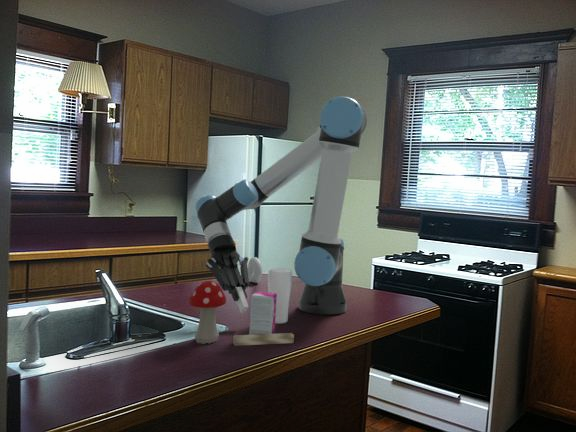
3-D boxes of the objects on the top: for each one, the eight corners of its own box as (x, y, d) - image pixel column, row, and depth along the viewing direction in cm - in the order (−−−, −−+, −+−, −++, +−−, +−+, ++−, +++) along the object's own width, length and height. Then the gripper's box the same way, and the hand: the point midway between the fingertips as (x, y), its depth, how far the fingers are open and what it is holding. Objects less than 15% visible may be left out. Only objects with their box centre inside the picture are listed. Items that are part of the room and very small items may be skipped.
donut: (246, 280, 224) (246, 255, 223) (254, 280, 226) (255, 255, 225) (254, 285, 215) (255, 259, 214) (263, 285, 216) (264, 259, 216)
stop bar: (291, 340, 145) (291, 332, 145) (293, 342, 143) (293, 335, 143) (233, 343, 141) (233, 335, 141) (234, 345, 139) (234, 337, 139)
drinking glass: (276, 317, 168) (278, 267, 167) (294, 321, 164) (296, 270, 163) (261, 321, 162) (263, 269, 161) (280, 326, 158) (282, 272, 157)
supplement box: (271, 341, 143) (272, 296, 142) (248, 339, 144) (249, 295, 143) (275, 335, 149) (277, 292, 148) (253, 333, 150) (254, 290, 149)
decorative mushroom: (209, 348, 136) (210, 286, 135) (180, 342, 140) (182, 281, 139) (232, 338, 145) (234, 280, 144) (204, 333, 149) (206, 276, 148)
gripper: (235, 248, 173) (260, 314, 161) (195, 249, 166) (218, 319, 154) (244, 232, 168) (270, 300, 156) (203, 233, 162) (227, 304, 149)
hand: (244, 309), depth 155 cm, fingers closed
